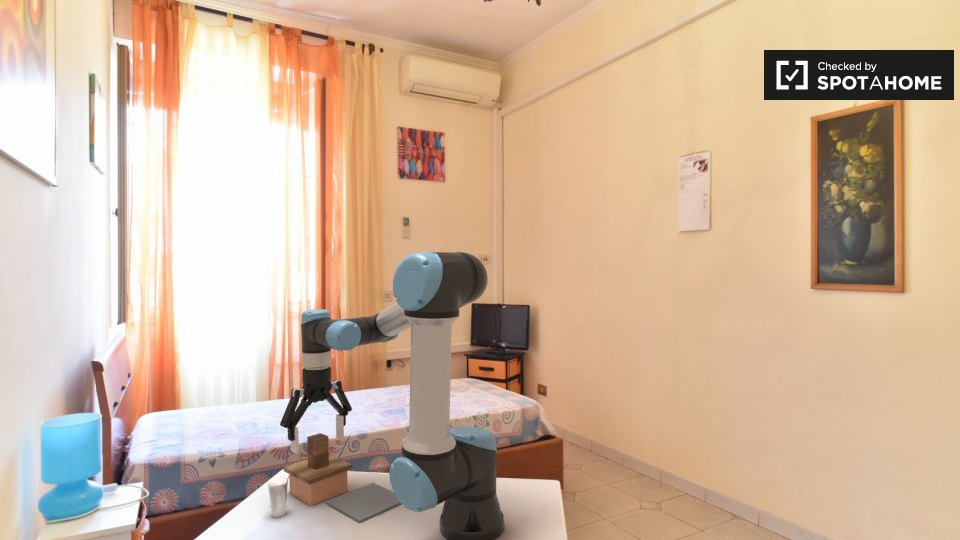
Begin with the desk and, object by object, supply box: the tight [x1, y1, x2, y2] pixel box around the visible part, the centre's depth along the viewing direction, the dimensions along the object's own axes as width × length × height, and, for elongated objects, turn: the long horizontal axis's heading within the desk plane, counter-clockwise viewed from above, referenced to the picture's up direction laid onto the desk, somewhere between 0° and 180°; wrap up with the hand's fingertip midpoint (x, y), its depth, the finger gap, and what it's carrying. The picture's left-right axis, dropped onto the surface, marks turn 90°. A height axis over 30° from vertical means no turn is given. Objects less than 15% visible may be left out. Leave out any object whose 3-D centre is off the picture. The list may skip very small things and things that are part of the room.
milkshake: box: [267, 474, 290, 518], centre depth 130 cm, size 4×5×10 cm
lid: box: [283, 432, 353, 485], centre depth 142 cm, size 13×13×9 cm
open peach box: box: [288, 471, 349, 506], centre depth 142 cm, size 11×11×6 cm
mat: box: [324, 482, 402, 524], centre depth 136 cm, size 15×15×1 cm
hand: (318, 445), depth 142 cm, fingers open, 13 cm apart
